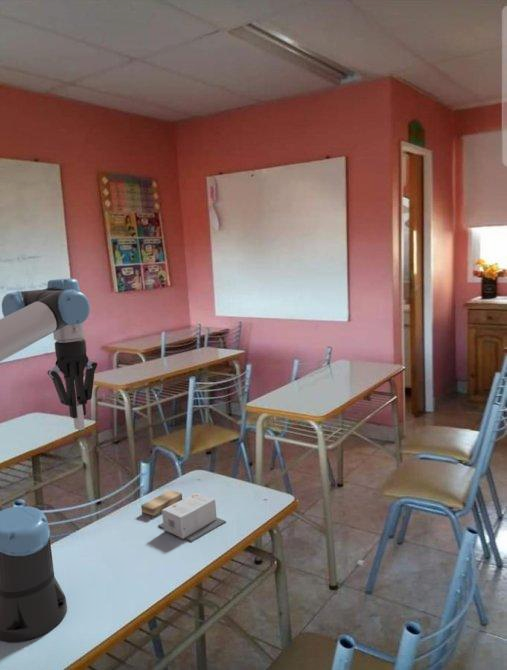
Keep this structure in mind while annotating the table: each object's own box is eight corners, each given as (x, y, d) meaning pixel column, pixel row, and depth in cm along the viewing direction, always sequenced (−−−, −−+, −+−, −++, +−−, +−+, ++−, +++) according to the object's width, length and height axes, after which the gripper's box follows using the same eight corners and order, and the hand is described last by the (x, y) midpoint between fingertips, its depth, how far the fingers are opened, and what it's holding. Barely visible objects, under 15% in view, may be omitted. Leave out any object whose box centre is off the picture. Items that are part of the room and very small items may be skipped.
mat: (191, 542, 147) (191, 540, 146) (158, 526, 156) (158, 525, 156) (225, 522, 156) (225, 521, 156) (192, 508, 165) (192, 507, 165)
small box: (182, 539, 147) (217, 519, 157) (180, 517, 146) (215, 498, 156) (163, 530, 153) (198, 511, 162) (161, 509, 152) (196, 491, 161)
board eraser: (153, 519, 161) (152, 509, 160) (142, 515, 164) (141, 505, 163) (182, 503, 170) (181, 493, 170) (171, 499, 173) (170, 490, 173)
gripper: (52, 345, 133) (63, 438, 137) (100, 336, 142) (109, 424, 146) (38, 342, 138) (49, 432, 142) (85, 334, 148) (94, 419, 151)
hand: (79, 428), depth 144 cm, fingers closed
